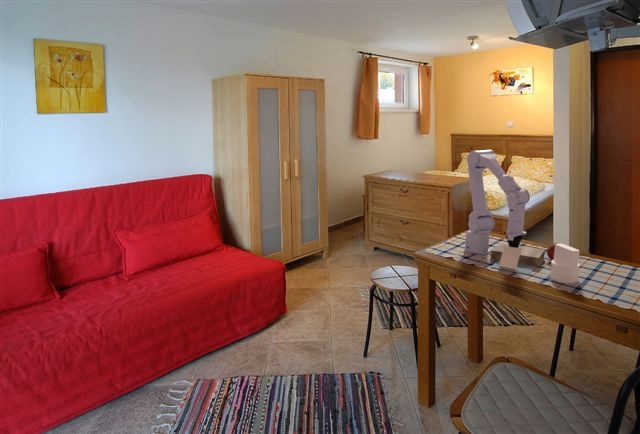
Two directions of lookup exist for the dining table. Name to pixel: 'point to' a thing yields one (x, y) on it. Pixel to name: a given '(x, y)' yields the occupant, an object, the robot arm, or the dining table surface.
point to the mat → (520, 268)
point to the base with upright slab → (565, 264)
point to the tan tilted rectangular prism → (510, 258)
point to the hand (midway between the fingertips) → (513, 253)
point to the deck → (521, 255)
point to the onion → (551, 251)
